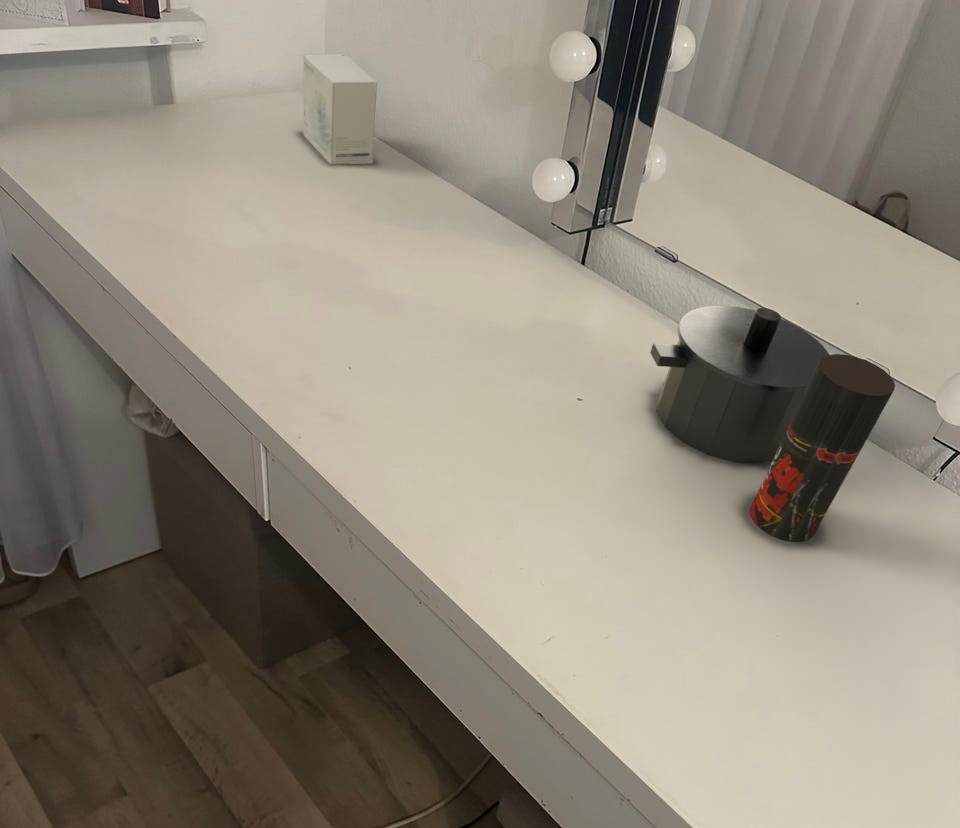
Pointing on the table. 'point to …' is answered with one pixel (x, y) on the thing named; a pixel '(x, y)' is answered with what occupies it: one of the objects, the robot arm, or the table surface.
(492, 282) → the table surface
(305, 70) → the cosmetics box
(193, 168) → the table surface
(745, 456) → the pot
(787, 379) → the pot lid
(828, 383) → the deodorant
